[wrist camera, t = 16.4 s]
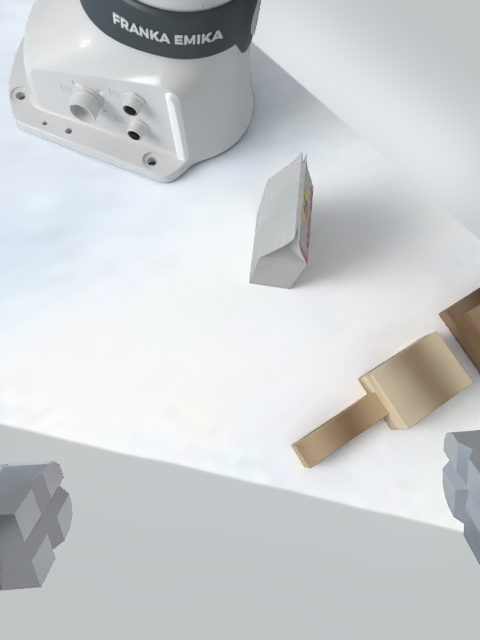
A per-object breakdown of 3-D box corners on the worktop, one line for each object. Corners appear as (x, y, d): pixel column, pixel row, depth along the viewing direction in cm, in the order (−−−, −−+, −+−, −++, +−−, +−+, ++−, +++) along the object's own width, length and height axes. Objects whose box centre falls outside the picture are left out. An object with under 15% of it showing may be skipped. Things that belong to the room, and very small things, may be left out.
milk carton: (249, 283, 40) (269, 234, 31) (257, 214, 42) (278, 148, 32) (289, 289, 41) (322, 242, 31) (296, 220, 42) (328, 156, 33)
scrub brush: (315, 483, 37) (326, 487, 34) (281, 429, 37) (289, 428, 34) (452, 386, 40) (473, 382, 37) (418, 338, 41) (436, 331, 38)
